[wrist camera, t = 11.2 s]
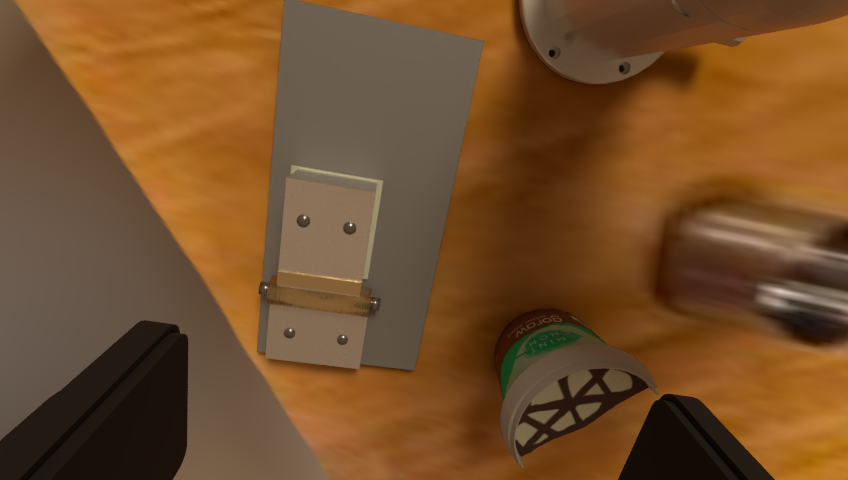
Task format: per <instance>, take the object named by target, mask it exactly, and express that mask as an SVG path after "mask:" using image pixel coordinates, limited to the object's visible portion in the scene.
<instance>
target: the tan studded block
mask: <svg viewBox="0 0 848 480" xmlns="http://www.w3.org/2000/svg"><path fill="white" fill-rule="evenodd" d="M377 183H378V182H376V181H370V180H364V179H358V178H352V177H347V176H341V175H335V174H329V173H323V172H317V171H311V170H305V169H300V168H299V169H298V170H296V171H295V172H294V173H292V174H291V175H289V176H288V177H287V178H286V188H285V199H284V211H283V222H282V234H281V245H280V257H279V269H278V274H277V286H282V287H290V288H297V289H304V290H312V291H319V292H326V293H334V294H341V295H348V296H356V297H360V292H361V286H362V280H363V274H364V268H365V261H366V255H367V248H368V242H369V235H370V229H371V222H372V216H373V209H374V202H375V196H376V189H377Z"/></svg>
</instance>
